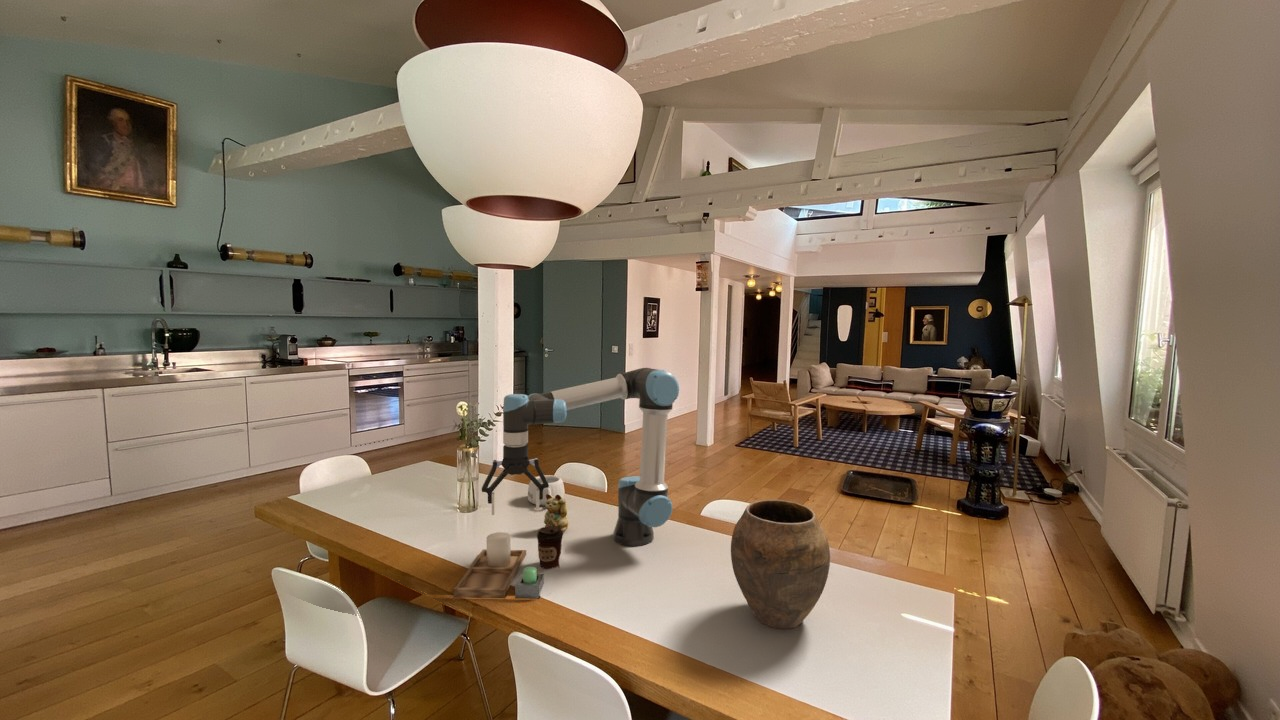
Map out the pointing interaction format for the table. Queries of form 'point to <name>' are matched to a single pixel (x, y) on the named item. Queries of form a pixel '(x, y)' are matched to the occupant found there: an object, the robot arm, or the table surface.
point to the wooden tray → (488, 577)
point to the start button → (529, 575)
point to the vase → (780, 561)
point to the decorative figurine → (556, 512)
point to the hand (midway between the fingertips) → (515, 511)
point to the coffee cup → (549, 546)
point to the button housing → (529, 588)
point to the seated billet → (498, 549)
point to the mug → (546, 489)
